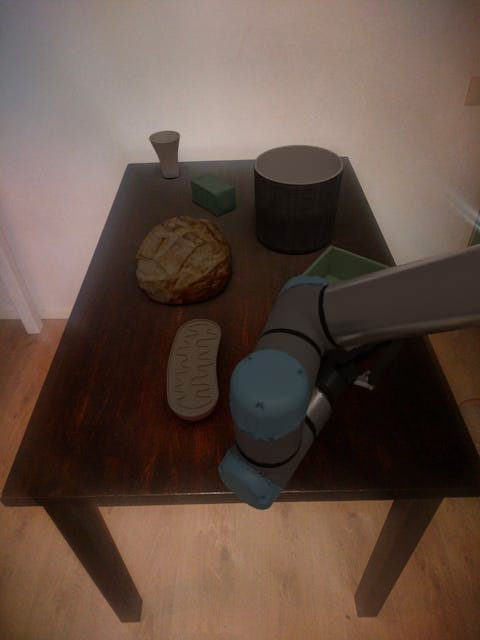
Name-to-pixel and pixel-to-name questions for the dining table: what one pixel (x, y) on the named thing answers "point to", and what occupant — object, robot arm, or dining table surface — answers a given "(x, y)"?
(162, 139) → the cup
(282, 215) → the planter
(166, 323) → the dining table surface
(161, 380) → the dining table surface
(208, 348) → the anatomical model
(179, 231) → the bread
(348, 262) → the waste bin
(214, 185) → the box
